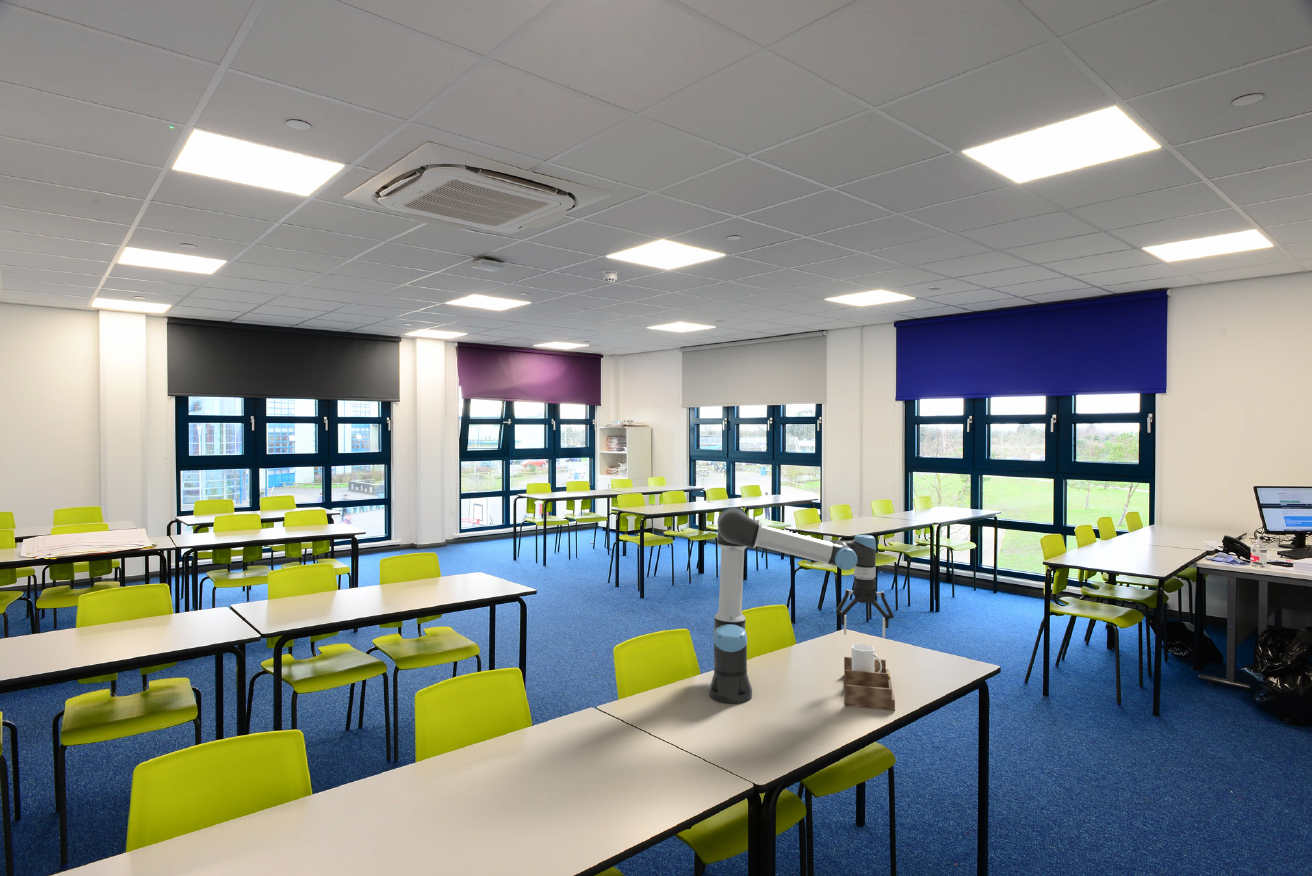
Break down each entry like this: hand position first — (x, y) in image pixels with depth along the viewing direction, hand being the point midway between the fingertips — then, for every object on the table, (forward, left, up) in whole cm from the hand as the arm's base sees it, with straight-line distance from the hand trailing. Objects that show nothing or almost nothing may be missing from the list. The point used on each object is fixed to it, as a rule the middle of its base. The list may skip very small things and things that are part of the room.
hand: (864, 635), depth 245 cm
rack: (+1, -7, -18) cm, 19 cm away
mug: (+1, 0, -17) cm, 17 cm away
